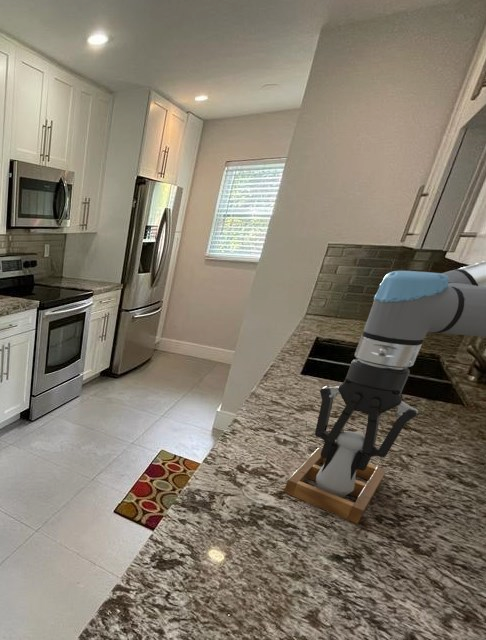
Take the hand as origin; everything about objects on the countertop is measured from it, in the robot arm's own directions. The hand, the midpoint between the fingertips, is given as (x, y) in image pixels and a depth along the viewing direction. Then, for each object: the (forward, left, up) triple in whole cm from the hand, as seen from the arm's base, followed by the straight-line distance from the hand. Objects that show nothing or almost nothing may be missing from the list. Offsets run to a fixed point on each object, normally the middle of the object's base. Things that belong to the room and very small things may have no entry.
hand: (336, 477), depth 80 cm
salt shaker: (0, 0, -4) cm, 4 cm away
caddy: (0, -5, -5) cm, 7 cm away
